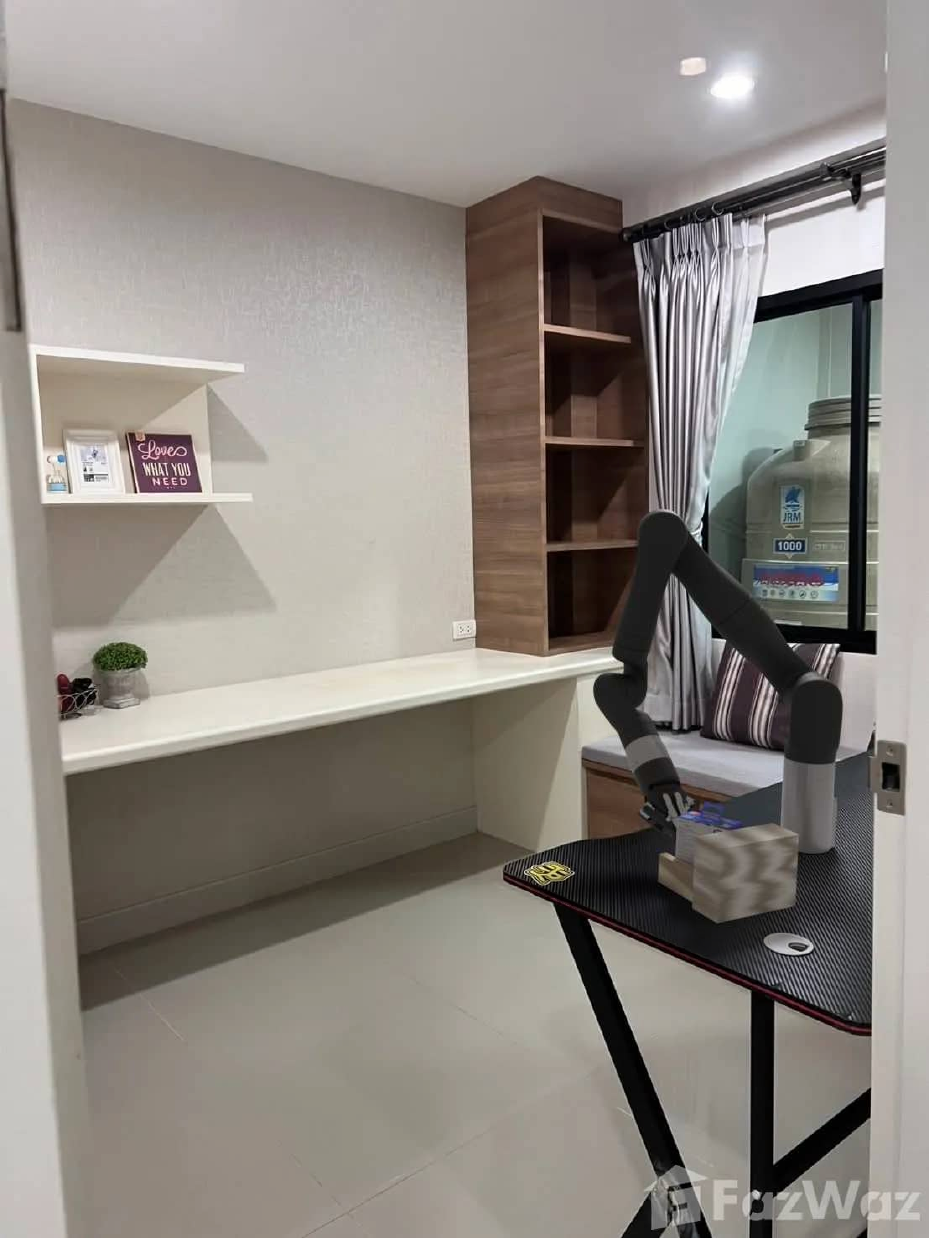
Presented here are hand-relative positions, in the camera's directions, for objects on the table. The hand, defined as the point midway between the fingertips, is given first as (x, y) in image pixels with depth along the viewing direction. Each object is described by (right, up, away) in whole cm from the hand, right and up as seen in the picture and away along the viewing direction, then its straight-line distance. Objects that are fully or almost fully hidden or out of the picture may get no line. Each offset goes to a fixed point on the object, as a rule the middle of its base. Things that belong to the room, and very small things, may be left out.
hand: (689, 852), depth 162 cm
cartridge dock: (+4, -5, -7) cm, 9 cm away
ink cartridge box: (+2, -5, -5) cm, 7 cm away
